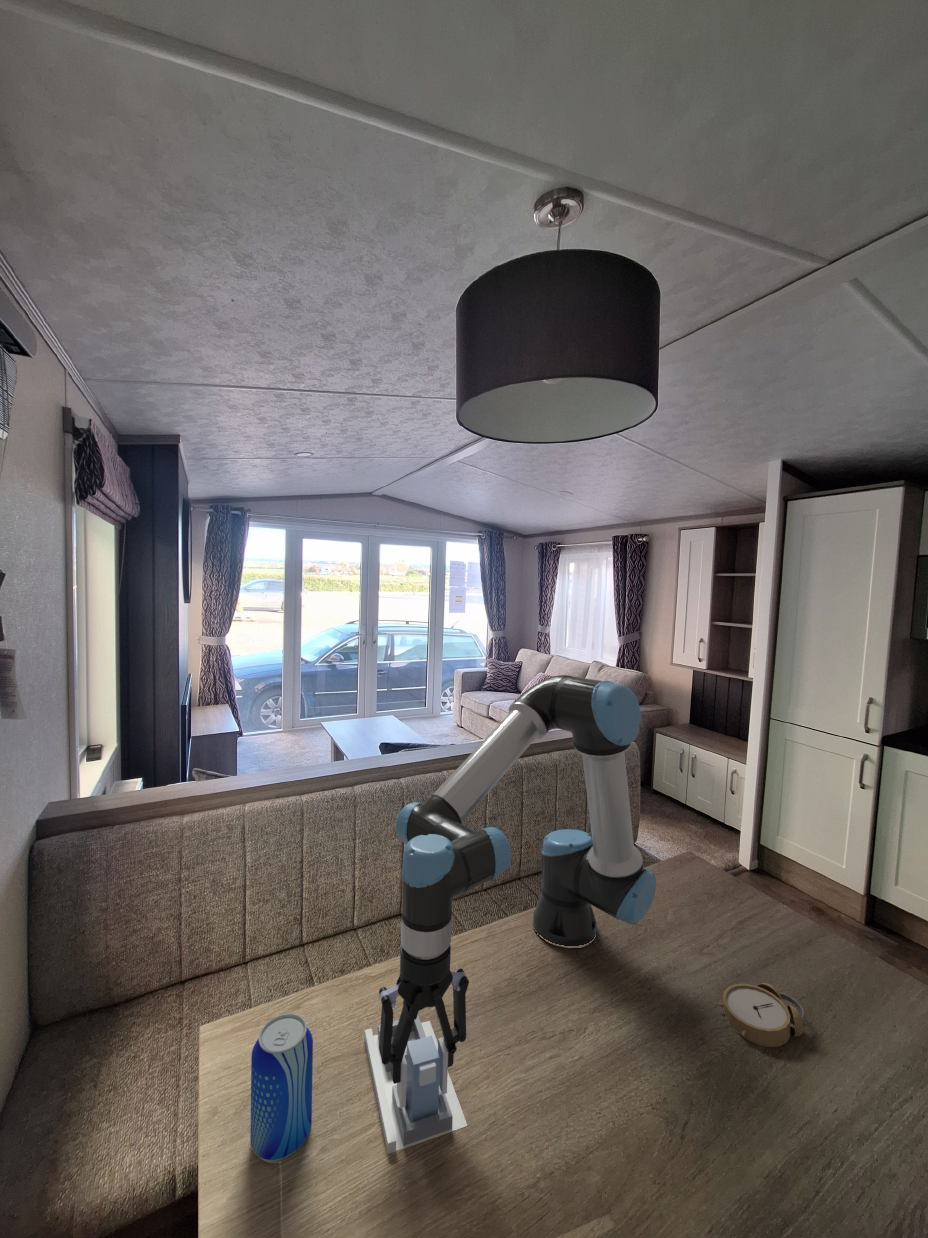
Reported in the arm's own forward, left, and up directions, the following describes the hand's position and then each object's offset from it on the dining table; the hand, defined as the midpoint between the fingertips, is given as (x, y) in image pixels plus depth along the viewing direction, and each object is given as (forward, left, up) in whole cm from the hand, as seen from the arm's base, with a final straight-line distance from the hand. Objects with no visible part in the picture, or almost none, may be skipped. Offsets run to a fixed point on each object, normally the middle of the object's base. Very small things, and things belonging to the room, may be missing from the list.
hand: (421, 1092), depth 78 cm
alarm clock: (-67, +3, -5) cm, 67 cm away
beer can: (+20, -4, -5) cm, 21 cm away
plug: (0, 0, -3) cm, 3 cm away
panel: (0, -6, -4) cm, 7 cm away
